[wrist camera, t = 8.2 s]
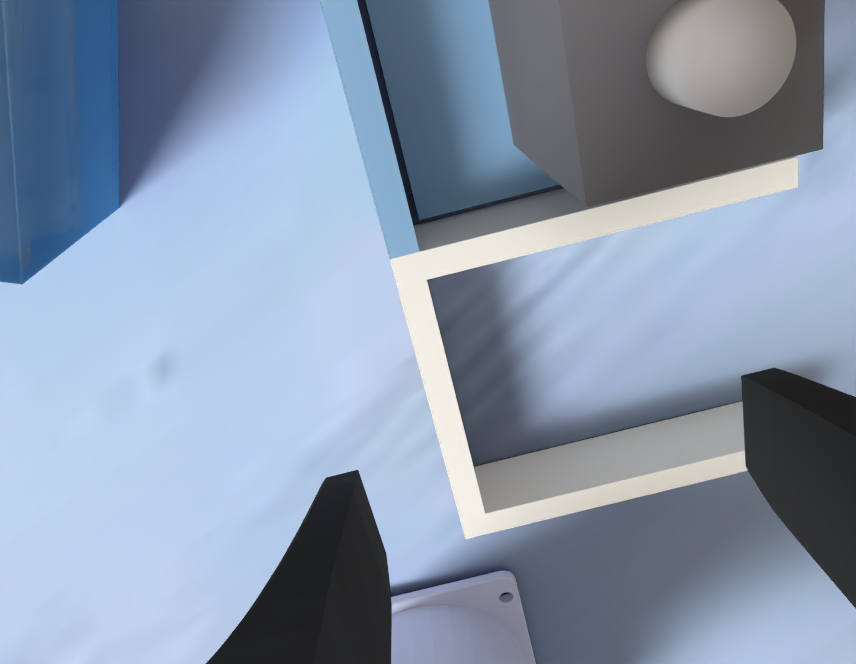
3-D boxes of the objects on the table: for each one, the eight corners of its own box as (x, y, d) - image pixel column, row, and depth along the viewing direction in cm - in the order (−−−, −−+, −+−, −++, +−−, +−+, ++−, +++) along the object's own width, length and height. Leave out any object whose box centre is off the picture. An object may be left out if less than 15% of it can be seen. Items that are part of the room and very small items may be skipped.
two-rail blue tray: (759, 416, 24) (800, 457, 22) (456, 490, 25) (465, 539, 22) (735, -229, 17) (794, -267, 14) (294, -113, 17) (283, -133, 15)
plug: (672, 105, 19) (876, 164, 12) (513, 144, 19) (612, 229, 12) (657, -78, 18) (890, -152, 10) (482, -34, 18) (575, -72, 10)
